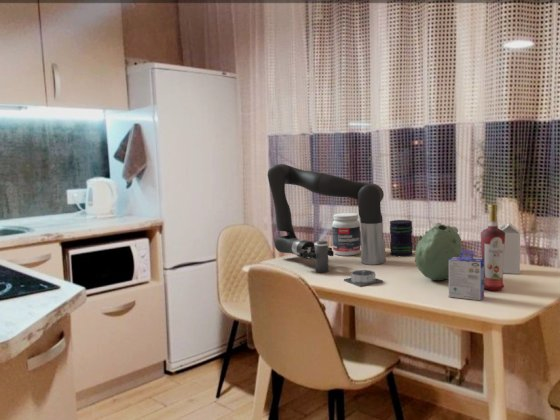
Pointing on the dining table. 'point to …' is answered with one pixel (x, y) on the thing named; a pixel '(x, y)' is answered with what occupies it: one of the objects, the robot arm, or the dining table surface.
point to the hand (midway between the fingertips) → (324, 255)
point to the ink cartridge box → (466, 277)
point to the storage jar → (401, 238)
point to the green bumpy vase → (437, 251)
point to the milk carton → (511, 249)
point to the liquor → (493, 252)
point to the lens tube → (321, 256)
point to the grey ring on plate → (363, 278)
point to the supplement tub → (346, 234)
